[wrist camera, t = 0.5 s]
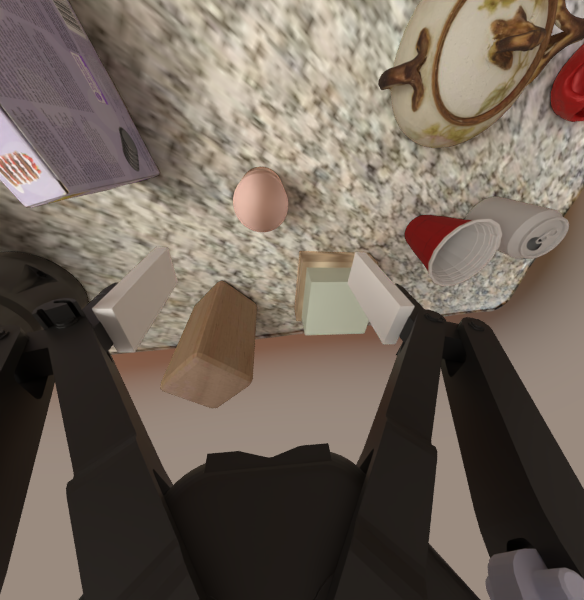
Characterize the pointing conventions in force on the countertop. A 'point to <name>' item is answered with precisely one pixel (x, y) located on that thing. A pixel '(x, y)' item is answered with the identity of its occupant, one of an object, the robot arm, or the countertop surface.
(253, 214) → the pink rounded cylinder
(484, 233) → the plastic cup
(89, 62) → the cake pan box
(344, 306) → the tower top
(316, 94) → the countertop surface
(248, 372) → the block
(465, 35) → the sugar bowl
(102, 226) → the countertop surface
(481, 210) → the can
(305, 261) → the tower base
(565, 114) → the pomegranate
